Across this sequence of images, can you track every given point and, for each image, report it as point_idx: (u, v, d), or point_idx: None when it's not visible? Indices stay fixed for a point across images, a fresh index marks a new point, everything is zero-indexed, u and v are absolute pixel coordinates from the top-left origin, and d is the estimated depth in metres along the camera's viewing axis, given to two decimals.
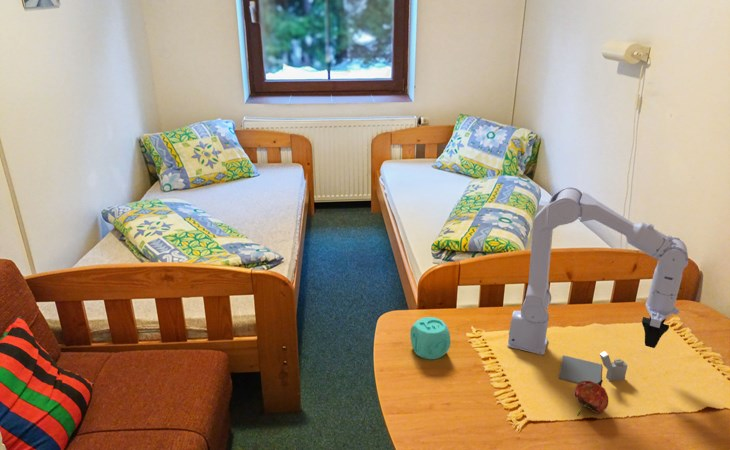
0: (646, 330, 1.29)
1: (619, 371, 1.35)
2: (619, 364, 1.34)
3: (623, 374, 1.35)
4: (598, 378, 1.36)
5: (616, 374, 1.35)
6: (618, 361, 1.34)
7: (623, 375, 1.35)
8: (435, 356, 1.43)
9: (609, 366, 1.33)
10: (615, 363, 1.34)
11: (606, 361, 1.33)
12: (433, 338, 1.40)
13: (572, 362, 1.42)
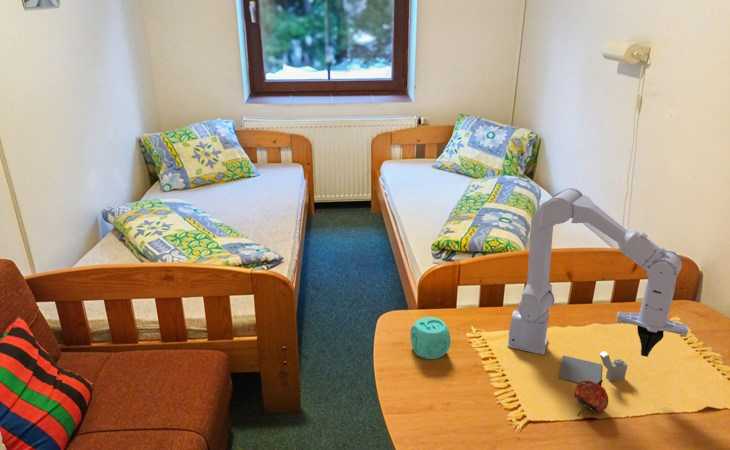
0: None
1: (619, 371, 1.35)
2: (619, 364, 1.34)
3: (623, 374, 1.35)
4: (598, 378, 1.36)
5: (616, 374, 1.35)
6: (618, 361, 1.34)
7: (623, 375, 1.35)
8: (435, 356, 1.43)
9: (609, 366, 1.33)
10: (615, 363, 1.34)
11: (606, 361, 1.33)
12: (433, 338, 1.40)
13: (572, 362, 1.42)
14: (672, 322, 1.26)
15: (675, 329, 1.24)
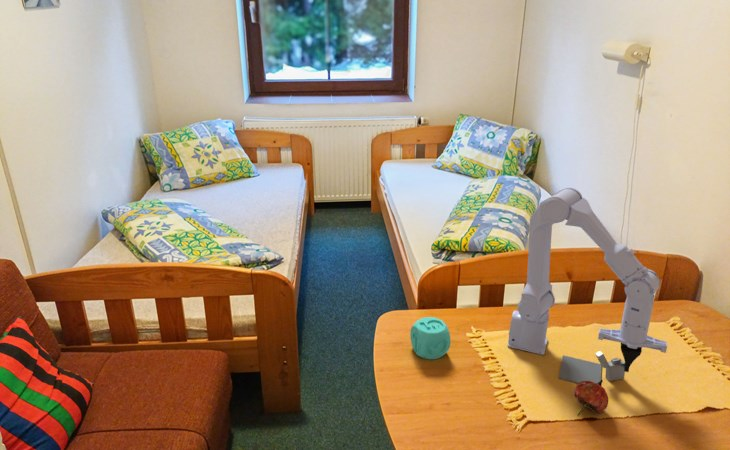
0: None
1: (617, 370, 1.35)
2: (616, 363, 1.34)
3: (622, 372, 1.35)
4: (598, 378, 1.36)
5: (615, 373, 1.35)
6: (615, 360, 1.34)
7: (622, 374, 1.35)
8: (435, 356, 1.43)
9: (606, 365, 1.34)
10: (612, 362, 1.34)
11: (602, 360, 1.33)
12: (433, 338, 1.40)
13: (572, 362, 1.42)
14: (652, 338, 1.30)
15: (654, 345, 1.27)
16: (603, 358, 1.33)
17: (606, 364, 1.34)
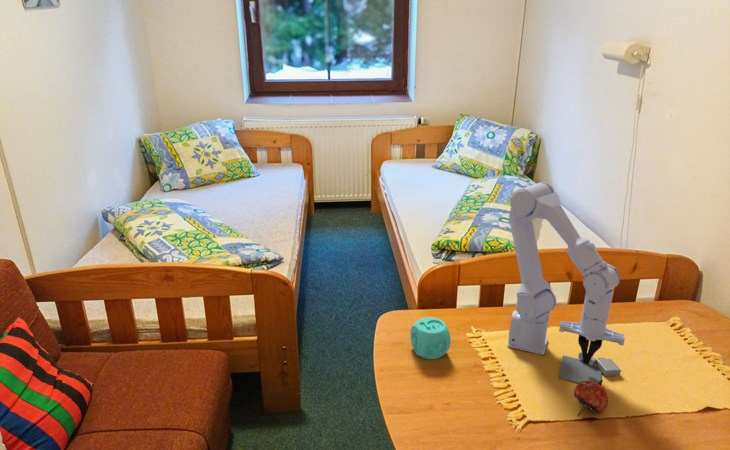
0: None
1: (607, 362, 1.39)
2: (602, 359, 1.41)
3: (614, 365, 1.38)
4: (598, 378, 1.36)
5: (607, 365, 1.38)
6: None
7: (615, 366, 1.38)
8: (435, 356, 1.43)
9: (592, 358, 1.40)
10: None
11: None
12: (433, 338, 1.40)
13: (572, 362, 1.42)
14: (611, 331, 1.33)
15: (612, 338, 1.31)
16: None
17: (592, 358, 1.40)
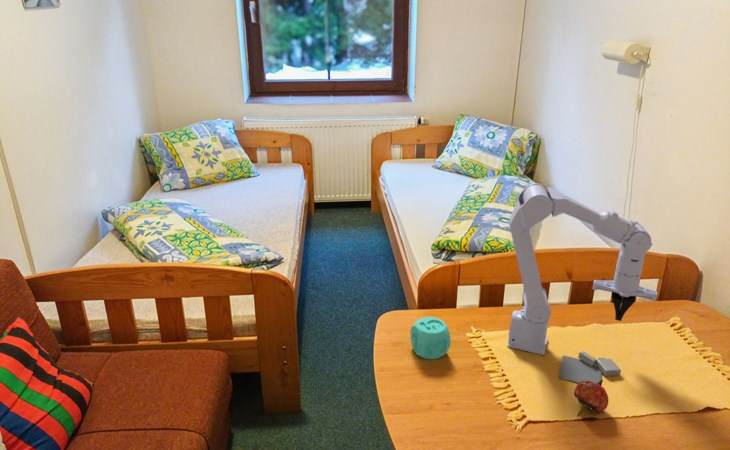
0: None
1: (607, 362, 1.39)
2: (602, 359, 1.41)
3: (614, 365, 1.38)
4: (598, 378, 1.36)
5: (607, 365, 1.38)
6: None
7: (615, 366, 1.38)
8: (435, 356, 1.43)
9: (592, 358, 1.40)
10: None
11: (585, 355, 1.41)
12: (433, 338, 1.40)
13: (572, 362, 1.42)
14: (643, 288, 1.38)
15: (645, 294, 1.36)
16: (585, 353, 1.42)
17: (592, 358, 1.40)
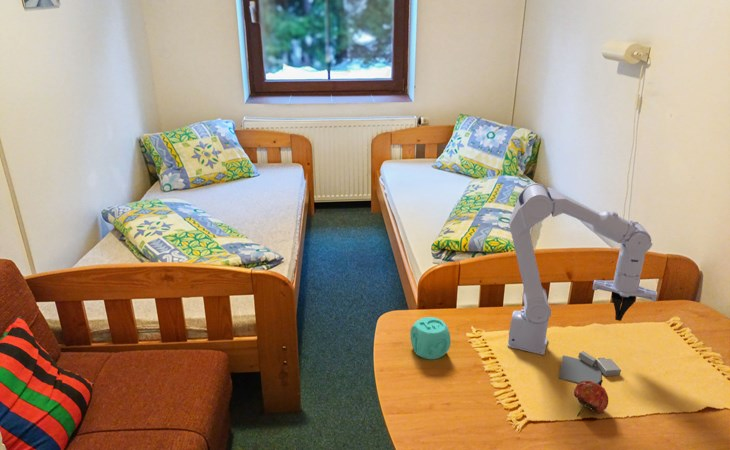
0: None
1: (607, 362, 1.39)
2: (602, 359, 1.41)
3: (614, 365, 1.38)
4: (598, 378, 1.36)
5: (607, 365, 1.38)
6: None
7: (615, 366, 1.38)
8: (435, 356, 1.43)
9: (592, 358, 1.40)
10: None
11: (585, 355, 1.41)
12: (433, 338, 1.40)
13: (572, 362, 1.42)
14: (643, 288, 1.38)
15: (645, 294, 1.36)
16: (585, 353, 1.42)
17: (592, 358, 1.40)
